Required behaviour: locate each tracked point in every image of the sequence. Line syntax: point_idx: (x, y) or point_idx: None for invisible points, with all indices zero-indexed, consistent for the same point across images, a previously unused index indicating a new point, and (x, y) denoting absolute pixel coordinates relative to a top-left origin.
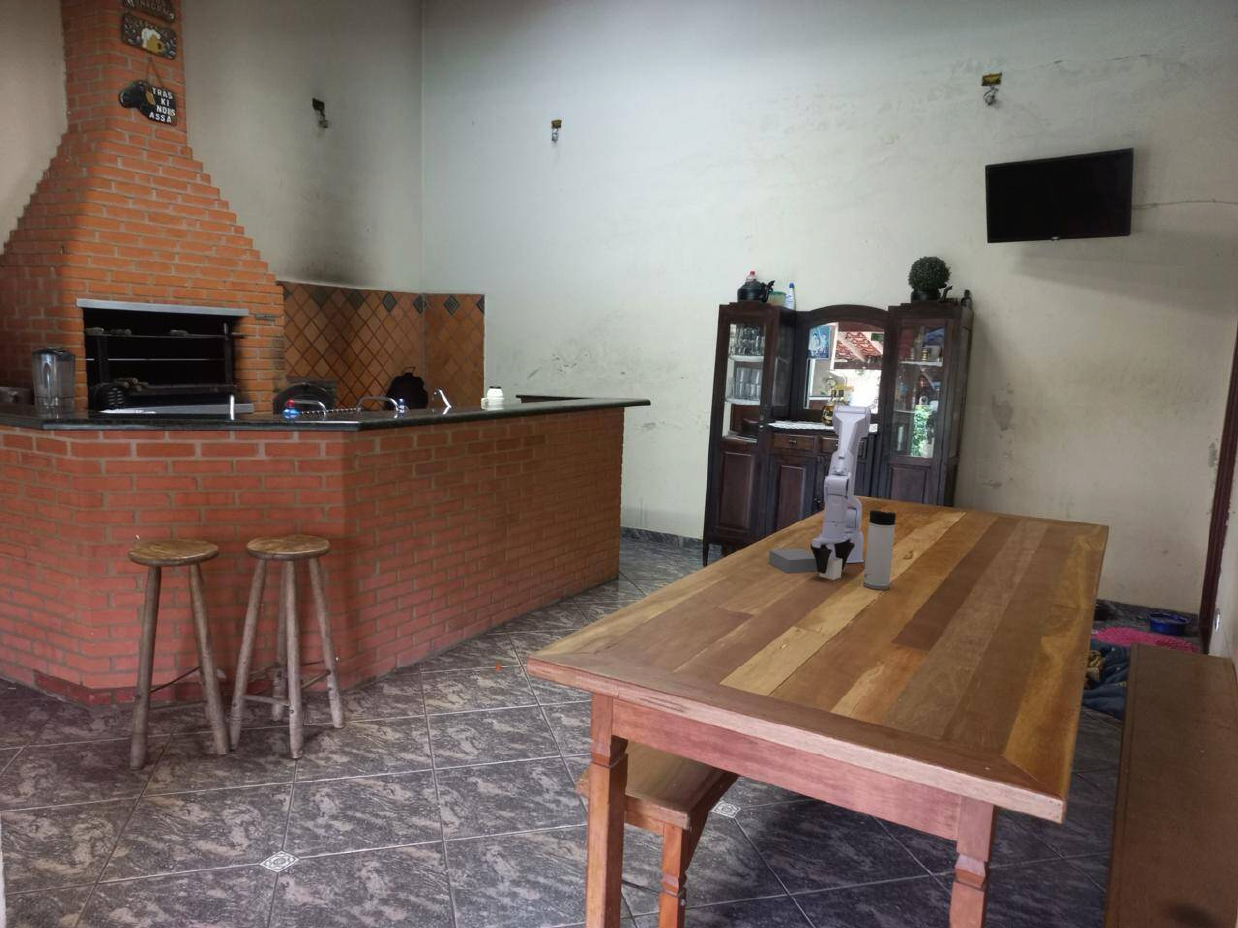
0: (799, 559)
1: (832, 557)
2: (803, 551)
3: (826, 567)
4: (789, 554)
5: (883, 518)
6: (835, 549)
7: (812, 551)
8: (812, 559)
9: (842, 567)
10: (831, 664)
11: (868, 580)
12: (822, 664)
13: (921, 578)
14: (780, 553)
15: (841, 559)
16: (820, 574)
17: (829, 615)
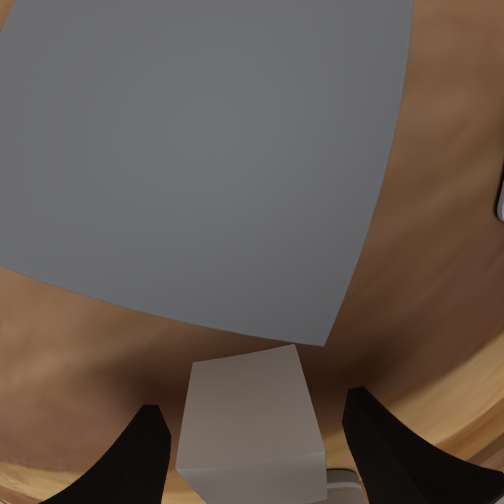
0: (47, 283)
1: (296, 480)
2: (360, 31)
3: (162, 471)
4: (68, 68)
5: None
6: (407, 481)
7: (48, 500)
8: (208, 322)
9: (345, 431)
10: (10, 496)
11: None
12: (3, 491)
13: (484, 434)
14: (30, 22)
15: (313, 500)
16: (194, 374)
17: (41, 487)
